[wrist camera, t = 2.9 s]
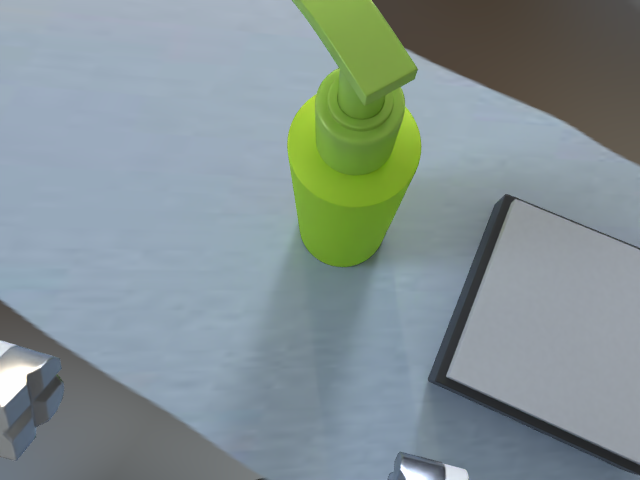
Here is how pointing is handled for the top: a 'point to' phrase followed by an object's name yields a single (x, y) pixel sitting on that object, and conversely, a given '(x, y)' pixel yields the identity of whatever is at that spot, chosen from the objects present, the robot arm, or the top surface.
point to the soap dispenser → (353, 135)
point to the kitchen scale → (551, 331)
